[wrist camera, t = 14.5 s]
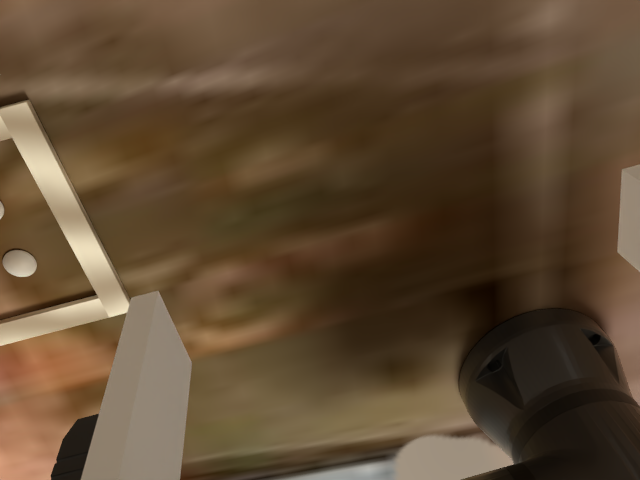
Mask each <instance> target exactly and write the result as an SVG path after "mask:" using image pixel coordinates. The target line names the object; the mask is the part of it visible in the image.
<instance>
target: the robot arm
mask: <svg viewBox="0 0 640 480" xmlns="http://www.w3.org/2000/svg"><path fill="white" fill-rule="evenodd" d="M617 252H618V253H619V254H620V255H621V256H622V257H624V258H625V259H626V260H627V261H628V262H629V263H630V264H631V265H632V266H634V267H635V268H636V269H637V270H638V271H639V272H640V165H636V166H633V167H629V168H625V169H622V178H621V196H620V215H619V233H618V251H617ZM191 367H192V362H191V360H190V358H189V356H188V353H187V351H186V349H185V347H184V345H183V343H182V341H181V338H180V336H179V334H178V332H177V330H176V328H175V326H174V323H173V321H172V319H171V317H170V315H169V313H168V311H167V309H166V306H165V304H164V302H163V300H162V298H161V296H160V294H159V291H155V292H151V293H148V294H144V295H140V296H136V297H132V298H131V301H130V304H129V308H128V311H127V315H126V319H125V322H124V326H123V329H122V333H121V337H120V340H119V344H118V347H117V351H116V355H115V358H114V362H113V365H112V369H111V373H110V376H109V380H108V383H107V387H106V391H105V394H104V398H103V401H102V405H101V409H100V412H99V414H96V415H93V416H89V417H85V418H81V419H77V421H76V422H75V424H74V425H73V426H72V428H71V429H70V430H69V432H68V433H67V435H66V436H65V437H64V439H63V441H62V444H61V447H60V450H59V453H58V456H57V459H56V460H57V463H56V464H55V465H54V468H53V471H52V474H51V480H180V473H181V464H182V454H183V445H184V435H185V425H186V416H187V406H188V396H189V387H190V377H191ZM459 390H460V394H461V397H462V400H463V402H464V404H465V406H466V408H467V410H468V413H469V415H470V416H471V418H472V419H473V421H474V422H475V423H476V425H477V426H478V427H479V428H480V429H481V430H482V431H483V432H484V433H485V434H487V435H488V436H489V437H490V438H491V439H492V440H493V441H494V442H495V443H496V444H497V445H498V446H499V447H500V448H501V449H502V450H503V451H504V452H505V453H506V454H507V455H508V456H509V457H510V458H511V459H512V461H513V463H514V465H511V466H507V467H503V468H500V469H496V470H493V471H489V472H486V473H483V474H479V475H475V476H472V477H468V478H465V479H462V480H640V406H639V405H638V404H637V402H636V401H635V400H634V399H633V397H632V395H631V392H630V389H629V386H628V383H627V380H626V377H625V374H624V371H623V368H622V365H621V362H620V359H619V356H618V353H617V350H616V348H615V346H614V344H613V343H612V341H611V340H610V338H609V337H608V336H607V335H606V334H605V332H604V331H603V330H602V329H601V328H600V327H599V325H598V324H597V323H596V322H595V321H593V320H592V319H591V318H589V317H588V316H586V315H584V314H581V313H579V312H576V311H572V310H566V309H544V310H538V311H533V312H529V313H526V314H523V315H520V316H517V317H515V318H512V319H510V320H508V321H506V322H504V323H503V324H501V325H499V326H498V327H496V328H495V329H493V330H492V331H491V332H489V333H488V334H487V335H486V336H484V337H483V338H482V339H481V340H480V341H479V342H478V343H477V344H476V346H475V347H474V348H473V349H472V350H471V352H470V353H469V355H468V357H467V358H466V360H465V362H464V364H463V367H462V370H461V373H460V378H459Z"/></svg>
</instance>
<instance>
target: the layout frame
mask: <svg viewBox="0 0 640 480" xmlns="http://www.w3.org/2000/svg"><path fill="white" fill-rule="evenodd" d="M9 138H13V140H14V142H15V144H16V146H17V148H18V149H19V151H20V153H21V155H22V157H23V159H24V160H25V162H26V164H27V166H28V168H29V170H30V172H31V173H32V175H33V177H34V179H35V181H36V183H37V185H38V186H39V188H40V190H41V192H42V194H43V196H44V197H45V199H46V201H47V203H48V205H49V207H50V209H51V210H52V212H53V214H54V216H55V218H56V220H57V222H58V223H59V225H60V227H61V229H62V231H63V233H64V235H65V236H66V238H67V240H68V242H69V244H70V246H71V247H72V249H73V251H74V253H75V255H76V257H77V259H78V260H79V262H80V264H81V266H82V268H83V270H84V272H85V273H86V275H87V277H88V279H89V281H90V283H91V285H92V286H93V288H94V290H95V292H96V294H97V295H95V296H91V297H87V298H83V299H80V300H76V301H72V302H68V303H64V304H60V305H57V306H53V307H49V308H45V309H41V310H38V311H34V312H30V313H26V314H22V315H18V316H15V317H11V318H7V319H3V320H0V346H1V345H5V344H9V343H13V342H16V341H20V340H24V339H28V338H32V337H36V336H39V335H43V334H47V333H51V332H55V331H59V330H62V329H66V328H70V327H74V326H78V325H82V324H85V323H89V322H93V321H97V320H101V319H104V318H108V317H112V316H116V315H120V314H124V313H127V311H128V308H129V304H130V301H131V300H130V298H129V296H128V294H127V292H126V290H125V288H124V286H123V284H122V282H121V280H120V278H119V276H118V274H117V272H116V270H115V268H114V267H113V265H112V263H111V261H110V259H109V257H108V255H107V253H106V251H105V249H104V247H103V245H102V243H101V241H100V239H99V237H98V235H97V233H96V231H95V229H94V227H93V225H92V223H91V221H90V219H89V217H88V215H87V213H86V211H85V209H84V207H83V205H82V203H81V201H80V199H79V197H78V195H77V193H76V191H75V189H74V187H73V185H72V183H71V181H70V179H69V177H68V175H67V173H66V171H65V169H64V167H63V165H62V164H61V162H60V160H59V158H58V156H57V154H56V152H55V150H54V148H53V146H52V144H51V142H50V140H49V138H48V136H47V134H46V132H45V130H44V128H43V126H42V124H41V122H40V120H39V118H38V116H37V114H36V112H35V110H34V108H33V106H32V104H31V102H30V100H25V101H22V102H18V103H14V104H10V105H7V106H3V107H0V141H2V140H6V139H9ZM3 214H4V206H3V204H2V202H1V201H0V219H1V218H2V216H3ZM3 265H4V268H5V269H6V270H7V271H8V272H9V273H10V274H12V275H15V276H18V277H26V276H29V275H31V274H33V273H34V272H35V270H36V267H37V263H36V260H35V259H34V257H33V256H32V255H31V254H29V253H28V252H25V251H22V250H12V251H10V252H8V253H7V254H6V255H5V256H4V258H3Z"/></svg>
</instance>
